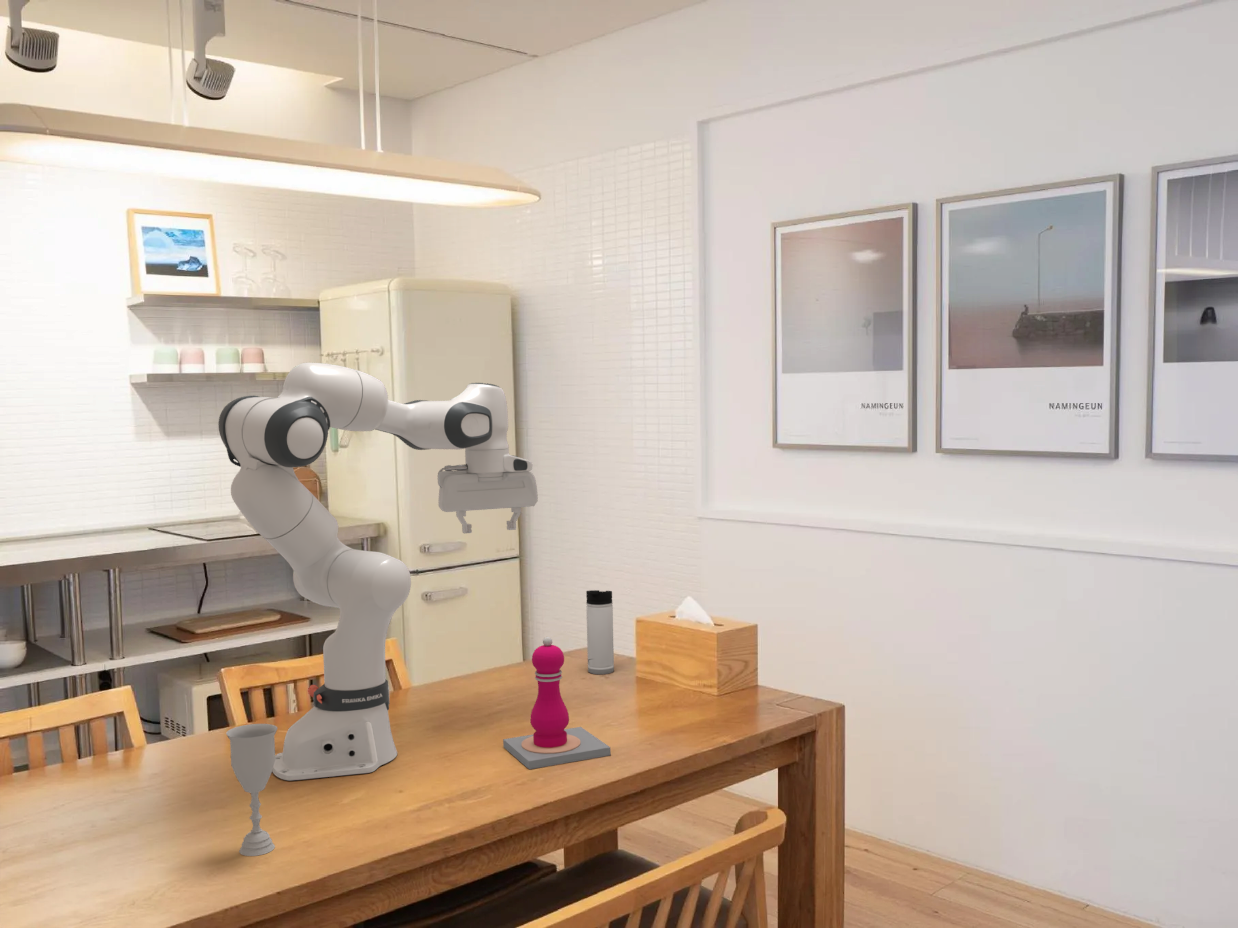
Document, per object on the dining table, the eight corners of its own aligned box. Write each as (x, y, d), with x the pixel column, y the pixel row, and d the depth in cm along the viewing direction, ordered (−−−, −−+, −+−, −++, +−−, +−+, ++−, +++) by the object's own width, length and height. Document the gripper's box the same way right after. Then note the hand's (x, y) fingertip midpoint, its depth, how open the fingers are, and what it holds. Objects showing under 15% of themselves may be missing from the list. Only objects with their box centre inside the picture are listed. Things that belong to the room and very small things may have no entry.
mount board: (529, 769, 196) (528, 759, 196) (503, 746, 208) (503, 737, 208) (610, 755, 203) (610, 745, 202) (580, 734, 215) (580, 725, 215)
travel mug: (583, 674, 261) (582, 590, 259) (592, 667, 267) (590, 585, 266) (609, 675, 259) (607, 591, 257) (617, 668, 265) (615, 586, 264)
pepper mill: (568, 748, 201) (565, 640, 200) (528, 748, 201) (525, 641, 200) (570, 736, 208) (568, 632, 207) (533, 736, 209) (530, 632, 207)
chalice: (287, 838, 167) (283, 722, 166) (275, 857, 161) (270, 736, 159) (239, 840, 167) (234, 724, 166) (225, 859, 160) (219, 738, 159)
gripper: (441, 466, 215) (443, 536, 216) (539, 461, 223) (541, 529, 224) (433, 465, 220) (435, 533, 221) (528, 460, 229) (530, 526, 230)
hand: (489, 531), depth 223 cm, fingers open, 8 cm apart
